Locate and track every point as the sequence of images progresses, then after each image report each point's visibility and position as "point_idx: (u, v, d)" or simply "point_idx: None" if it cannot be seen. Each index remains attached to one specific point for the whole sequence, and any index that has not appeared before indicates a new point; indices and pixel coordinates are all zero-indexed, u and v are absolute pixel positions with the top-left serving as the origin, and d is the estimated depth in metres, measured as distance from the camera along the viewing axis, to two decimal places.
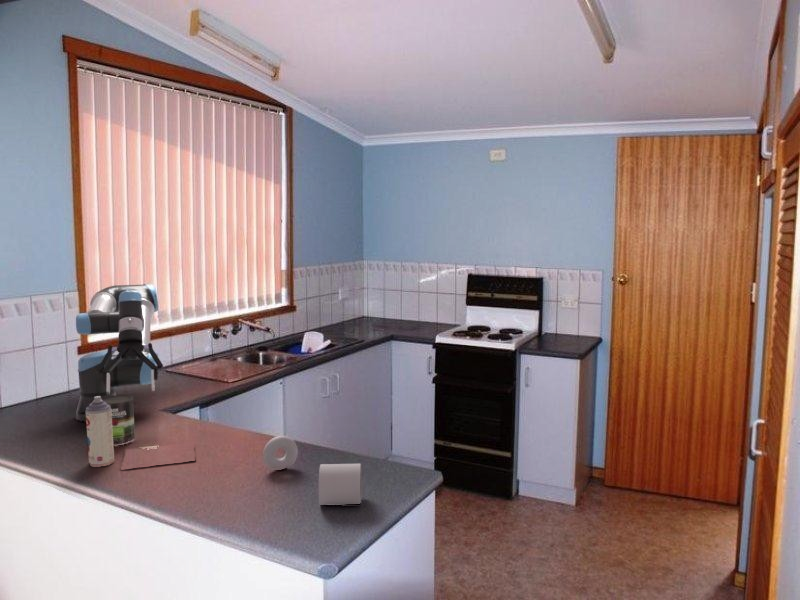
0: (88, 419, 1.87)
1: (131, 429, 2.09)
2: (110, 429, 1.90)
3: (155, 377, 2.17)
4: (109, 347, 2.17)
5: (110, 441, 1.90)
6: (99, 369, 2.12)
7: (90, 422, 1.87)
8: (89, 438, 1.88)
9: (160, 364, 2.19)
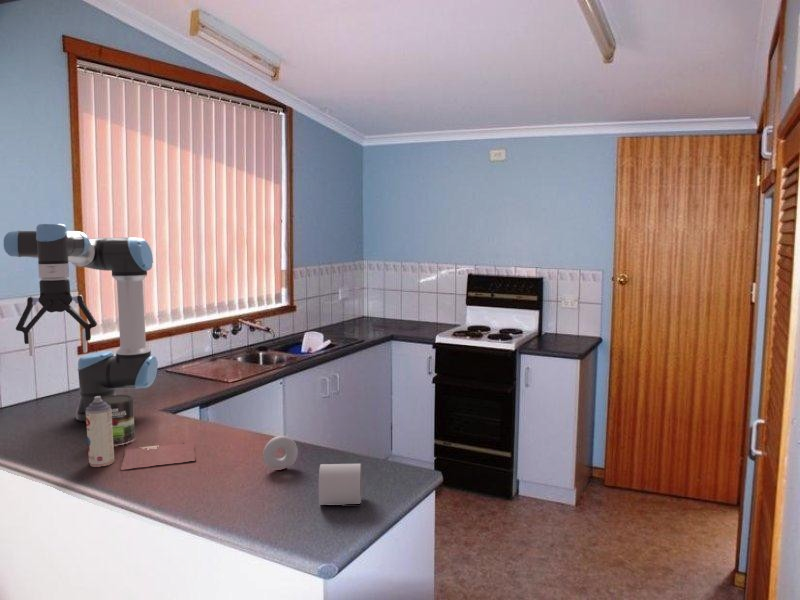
0: (88, 419, 1.87)
1: (131, 429, 2.09)
2: (110, 429, 1.90)
3: (87, 338, 1.87)
4: (28, 299, 1.80)
5: (110, 441, 1.90)
6: (18, 328, 1.80)
7: (90, 422, 1.87)
8: (89, 438, 1.88)
9: (93, 323, 1.86)
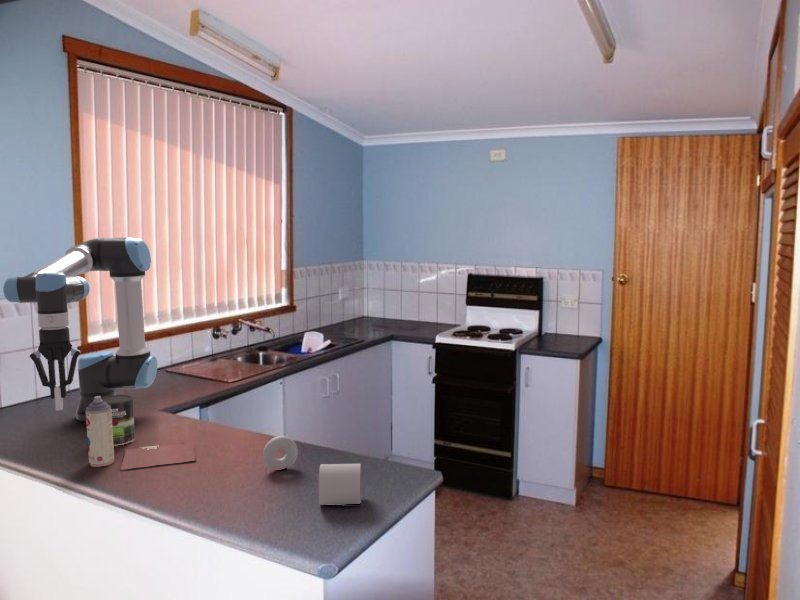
0: (88, 419, 1.87)
1: (131, 429, 2.09)
2: (110, 429, 1.90)
3: (62, 396, 1.85)
4: (31, 356, 1.81)
5: (110, 441, 1.90)
6: (44, 383, 1.83)
7: (91, 422, 1.87)
8: (89, 438, 1.88)
9: (69, 380, 1.85)
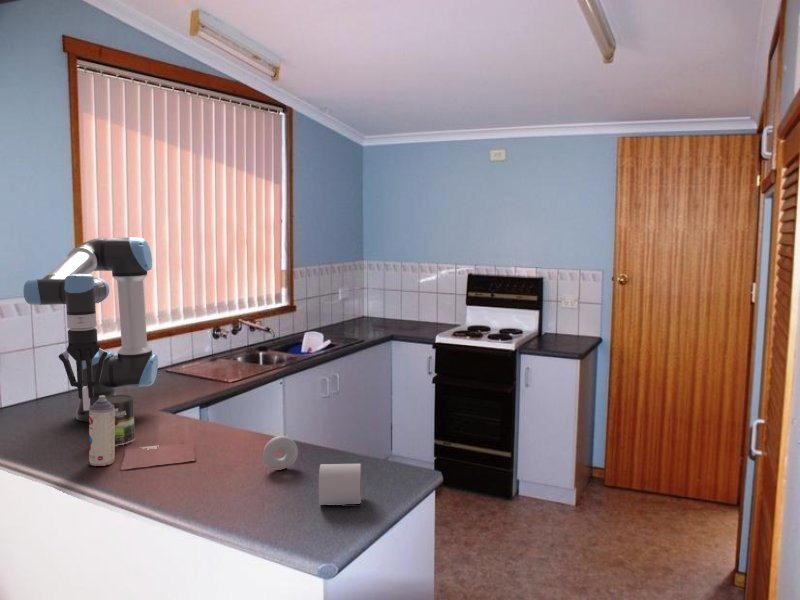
0: (91, 418, 1.87)
1: (131, 429, 2.09)
2: (112, 429, 1.90)
3: (90, 396, 1.88)
4: (60, 357, 1.84)
5: (111, 441, 1.90)
6: (73, 383, 1.85)
7: (94, 421, 1.87)
8: (91, 437, 1.88)
9: (96, 381, 1.87)
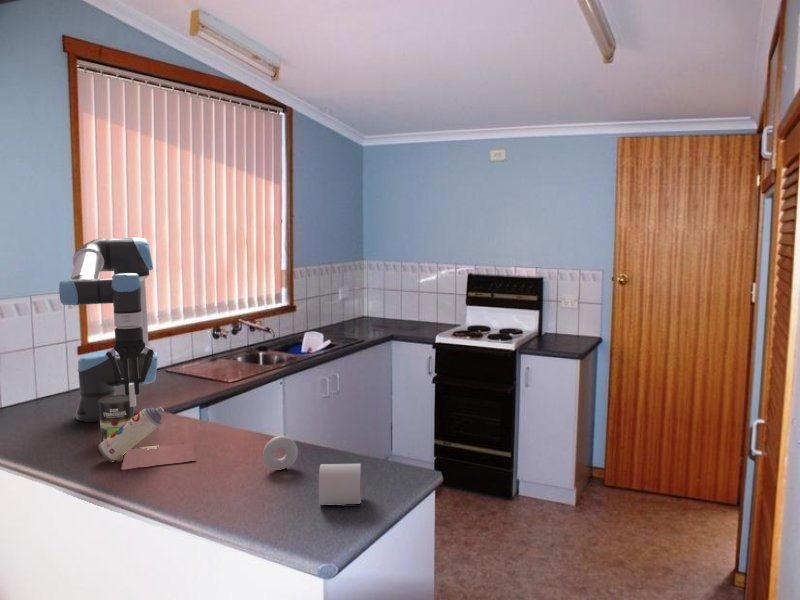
0: (139, 417, 1.91)
1: None
2: None
3: (136, 392, 1.92)
4: (108, 355, 1.88)
5: (131, 446, 1.92)
6: (119, 380, 1.89)
7: (138, 421, 1.91)
8: (123, 430, 1.91)
9: (142, 378, 1.91)
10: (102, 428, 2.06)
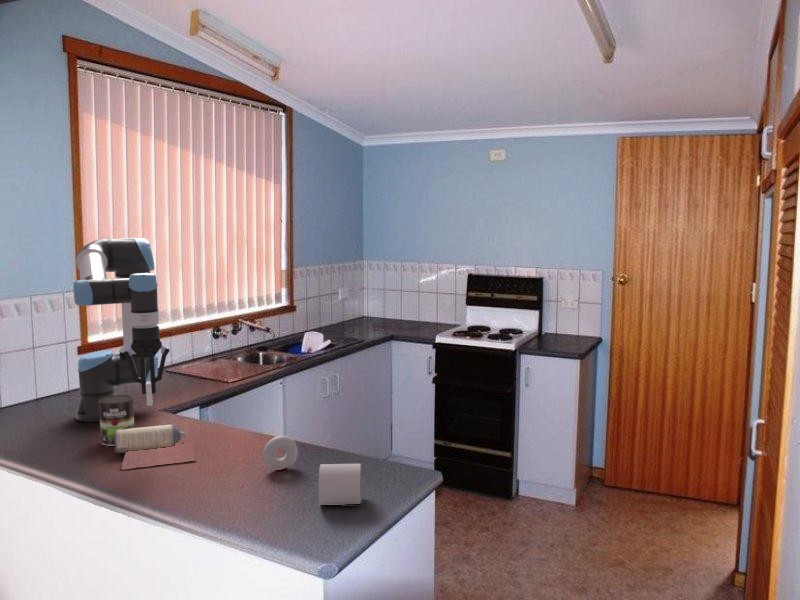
0: None
1: None
2: (151, 433, 1.98)
3: (153, 391, 1.93)
4: (125, 354, 1.89)
5: (138, 433, 1.98)
6: (137, 379, 1.91)
7: None
8: None
9: (159, 377, 1.93)
10: (102, 428, 2.06)
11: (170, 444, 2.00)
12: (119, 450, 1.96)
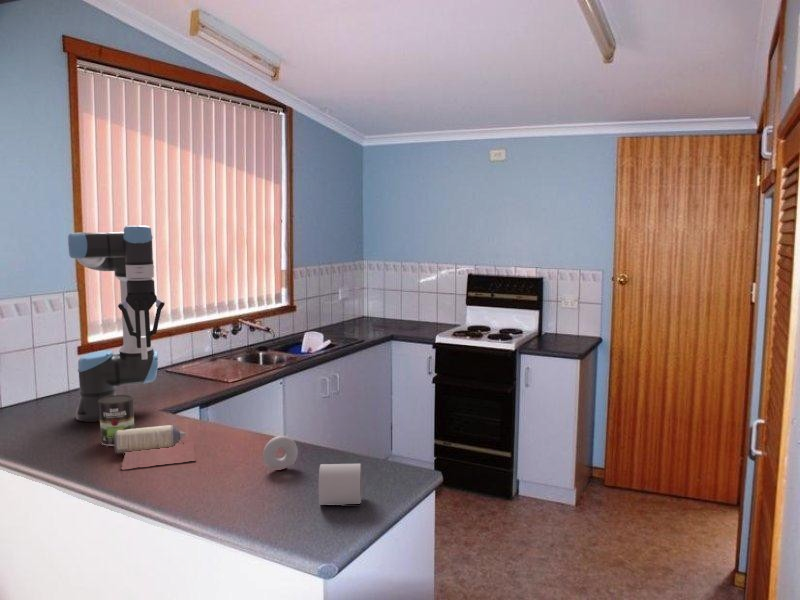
0: None
1: None
2: (151, 435, 1.98)
3: (148, 345, 1.92)
4: (120, 306, 1.88)
5: (138, 434, 1.97)
6: (131, 333, 1.90)
7: None
8: None
9: (154, 331, 1.92)
10: (102, 428, 2.06)
11: (170, 445, 2.00)
12: (119, 451, 1.96)
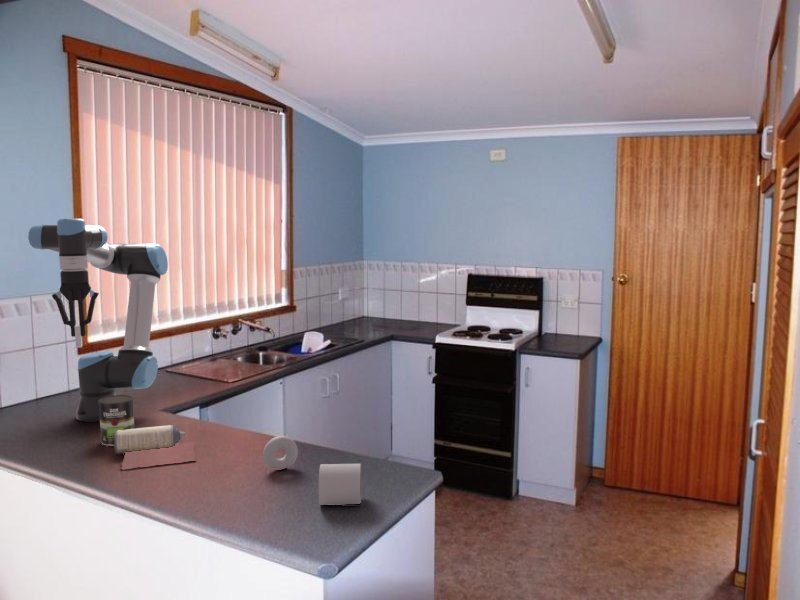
0: None
1: None
2: (151, 435, 1.98)
3: (82, 334, 1.99)
4: (53, 296, 1.95)
5: (138, 434, 1.97)
6: (65, 322, 1.97)
7: None
8: None
9: (88, 320, 1.99)
10: (102, 428, 2.06)
11: (170, 445, 2.00)
12: (119, 451, 1.96)
